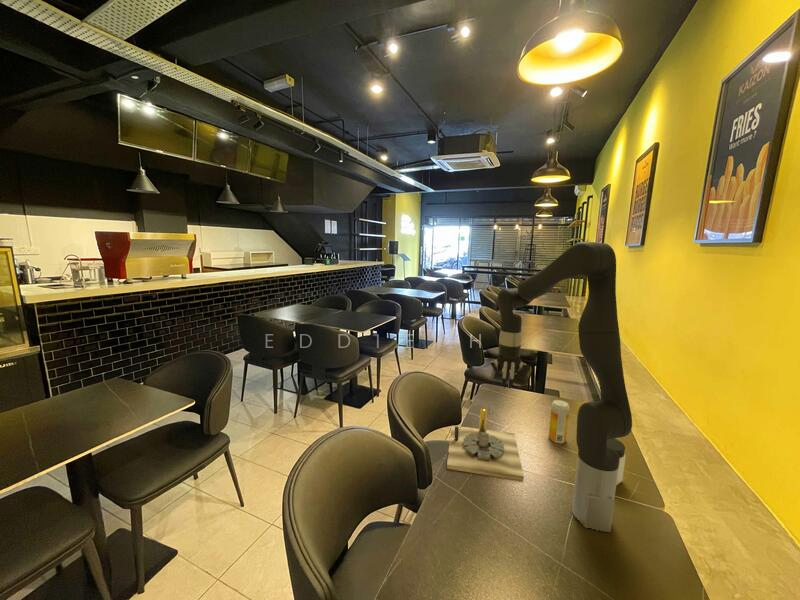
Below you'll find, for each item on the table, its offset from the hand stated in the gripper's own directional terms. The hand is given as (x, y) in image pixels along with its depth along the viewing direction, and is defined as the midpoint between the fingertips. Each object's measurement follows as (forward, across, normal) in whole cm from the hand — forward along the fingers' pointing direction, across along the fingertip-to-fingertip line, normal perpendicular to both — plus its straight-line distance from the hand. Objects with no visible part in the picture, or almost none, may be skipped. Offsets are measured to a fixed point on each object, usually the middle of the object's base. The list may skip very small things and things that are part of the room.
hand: (507, 387), depth 118 cm
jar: (+21, +30, -14) cm, 39 cm away
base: (+21, -8, -10) cm, 25 cm away
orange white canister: (+21, +20, +4) cm, 29 cm away
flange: (+19, -8, -8) cm, 22 cm away
